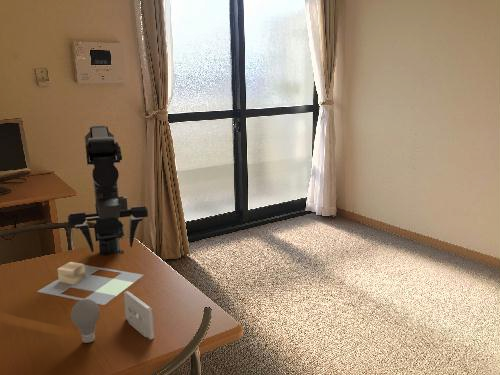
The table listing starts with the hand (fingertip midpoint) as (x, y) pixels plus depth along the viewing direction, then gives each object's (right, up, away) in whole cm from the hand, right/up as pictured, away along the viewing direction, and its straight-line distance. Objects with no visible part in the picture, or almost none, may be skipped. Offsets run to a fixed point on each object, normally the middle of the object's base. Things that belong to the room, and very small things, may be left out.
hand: (112, 249), depth 106 cm
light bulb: (-1, -19, -11) cm, 22 cm away
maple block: (-16, -11, +15) cm, 24 cm away
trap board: (-10, -13, +13) cm, 21 cm away
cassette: (+9, -18, -7) cm, 21 cm away
